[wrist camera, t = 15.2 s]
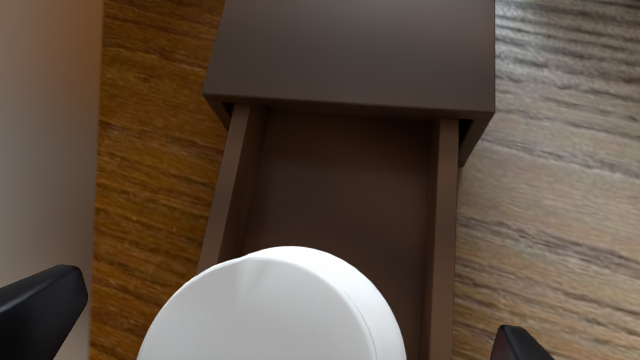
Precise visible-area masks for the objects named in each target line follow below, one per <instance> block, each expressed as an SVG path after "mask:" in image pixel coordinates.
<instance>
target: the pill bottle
mask: <svg viewBox="0 0 640 360" xmlns="http://www.w3.org/2000/svg"><path fill="white" fill-rule="evenodd" d="M137 360H407V359H406V352H405V348H404V343H403V339H402V335H401V332H400V329H399V326H398V324H397V322H396V319H395V317H394V315H393V313H392V311H391V309H390V307H389V305H388V304H387V302H386V301H385V299H384V298H383V296H382V295H381V293H380V292H379V291H378V290H377V288H376V287H375V286H374V285H373V284H372V283H371V281H370V280H369V279H367V278H366V277H365V276H364V275H363V274H362V273H361V272H359V271H358V270H357V269H356V268H354V267H353V266H351V265H350V264H348V263H347V262H345V261H344V260H342V259H340V258H337V257H335V256H333V255H331V254H329V253H326V252H323V251H320V250H316V249H311V248H306V247H297V246H283V247H273V248H268V249H264V250H260V251H257V252H254V253H251V254H248V255H245V256H243V257H241V258H237V259H232V260H229V261H226V262H223V263H220V264H217V265H215V266H212V267H211V268H209V269H207V270H205V271H203V272H202V273H200V274H199V275H197V276H195V277H194V278H192V279H191V280H190V281H188V282H187V283H185V284H184V285H183V286H182V287H181V288H180V289H179V290H178V291H177V292H176V293H175V294H174V295H173V296H172V297H171V298H170V299H169V300H168V302H167V303H166V304H165V305H164V306H163V308H162V309H161V310H160V312H159V313H158V315H157V316H156V317H155V319H154V321H153V323H152V324H151V326H150V328H149V330H148V332H147V334H146V336H145V339H144V341H143V343H142V346H141V348H140V351H139V354H138V357H137Z"/></svg>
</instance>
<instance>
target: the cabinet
mask: <svg viewBox="0 0 640 360" xmlns="http://www.w3.org/2000/svg"><path fill="white" fill-rule="evenodd" d="M202 95H203V96H204V98H205V99H206V100H207V102H208V104H209V105H210V107H211V108H212V110H213V111H214V112H215V114H216V115H217V117H218V118H219V119H220V121H221V122H222V124H223V125H224V127H225V128H226V129H227V131H228V132H229V127H230V123H231V119H232V114H233V110H234V106H235V103H241V104H256V105H270V106H285V107H300V108H314V109H329V110H343V111H358V112H372V113H387V114H401V115H416V116H431V117H445V118H459V140H458V167H463V166H464V164H465V163H466V161H467V159H468V157H469V156H470V154H471V152H472V151H473V149H474V147H475V146H476V144H477V142H478V141H479V139H480V137H481V136H482V134H483V132H484V131H485V129H486V127H487V126H488V124H489V122H490V120H491V119H492V117H493V116H494V114H495V0H226V2H225V6H224V9H223V13H222V17H221V21H220V25H219V29H218V32H217V36H216V40H215V44H214V48H213V52H212V55H211V59H210V63H209V67H208V71H207V75H206V78H205V82H204V86H203V90H202Z"/></svg>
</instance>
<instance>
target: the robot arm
mask: <svg viewBox="0 0 640 360" xmlns="http://www.w3.org/2000/svg"><path fill="white" fill-rule="evenodd" d="M87 301H88V293H87V289H86V286H85V282H84V279H83V276H82V272H81V270H80V269H79V268H78V267H76V266H70V265H57V266H54V267H52V268H49V269H47V270H44V271H42V272H39V273H37V274H34V275H32V276H29V277H27V278H24V279H22V280H19V281H17V282H14V283H12V284H9V285H7V286H4V287H2V288H0V360H53V359H54V357H55V356H56V354H57V352H58V351H59V349H60V347H61V346H62V344H63V342H64V341H65V339H66V337H67V336H68V334H69V333H70V331H71V329H72V328H73V326H74V324H75V323H76V321H77V319H78V318H79V316H80V314H81V313H82V311H83V310H84V308H85V306H86V304H87ZM490 360H555V359H554V358H553V357H552V356H551V355H550V354H549V353H548V352H547V351H546V350H545V349H544V348H543V347H542V346H541V345H540V344H539V343H538V342H537V341H536V340H535V339H534V338H533V337H532V336H531V335H530V334H529V333H528V332H527V331H526V330H525V329H524V328H522V327H519V326H511V325H501V326H500V327H499V328H498V331H497V334H496V338H495V341H494V345H493V348H492V352H491V357H490Z"/></svg>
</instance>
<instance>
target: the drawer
mask: <svg viewBox="0 0 640 360" xmlns="http://www.w3.org/2000/svg"><path fill="white" fill-rule="evenodd" d="M458 140H459V118H445V117H431V116H416V115H401V114H387V113H372V112H358V111H343V110H329V109H314V108H300V107H285V106H270V105H256V104H241V103H235V106H234V110H233V114H232V119H231V123H230V127H229V132H228V136H227V141H226V145H225V149H224V154H223V158H222V162H221V167H220V171H219V175H218V180H217V184H216V189H215V193H214V197H213V202H212V206H211V210H210V215H209V219H208V223H207V228H206V232H205V237H204V241H203V245H202V250H201V254H200V258H199V263H198V267H197V271H196V276H197V275H199V274H200V273H202V272H203V271H205V270H207V269H209V268H211V267H212V266H215V265H217V264H220V263H223V262H226V261H229V260H232V259H237V258H241V257H243V256H245V255H248V254H251V253H254V252H257V251H260V250H264V249H268V248H273V247H283V246H297V247H306V248H311V249H316V250H320V251H323V252H326V253H329V254H331V255H333V256H335V257H337V258H340V259H342V260H344V261H345V262H347V263H348V264H350V265H351V266H353V267H354V268H356V269H357V270H358V271H359V272H361V273H362V274H363V275H364V276H365V277H366V278H367V279H369V280H370V281H371V283H372V284H373V285H374V286H375V287H376V288H377V290H378V291H379V292H380V293H381V295H382V296H383V298H384V299H385V301H386V302H387V304H388V305H389V307H390V309H391V311H392V313H393V315H394V317H395V319H396V322H397V324H398V326H399V329H400V332H401V335H402V339H403V343H404V348H405V352H406V359H407V360H452V345H453V311H454V277H455V243H456V209H457V174H458Z"/></svg>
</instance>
